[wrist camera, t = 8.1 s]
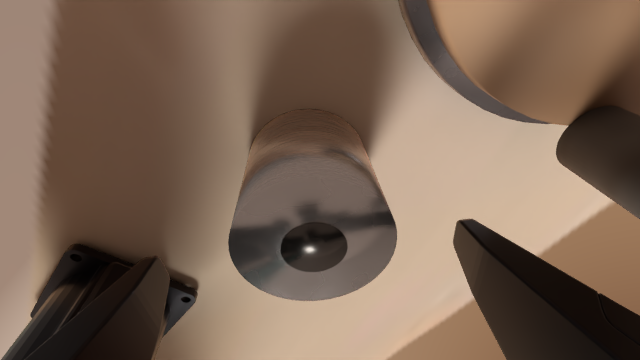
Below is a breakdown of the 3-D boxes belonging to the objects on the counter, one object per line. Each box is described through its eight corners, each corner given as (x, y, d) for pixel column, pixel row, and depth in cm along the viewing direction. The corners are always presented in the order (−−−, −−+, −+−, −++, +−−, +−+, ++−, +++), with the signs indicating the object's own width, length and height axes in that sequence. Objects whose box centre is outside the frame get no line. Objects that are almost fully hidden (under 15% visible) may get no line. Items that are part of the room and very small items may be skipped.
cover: (315, 225, 16) (324, 318, 11) (226, 173, 14) (196, 263, 9) (388, 155, 14) (431, 235, 9) (297, 82, 12) (298, 143, 7)
